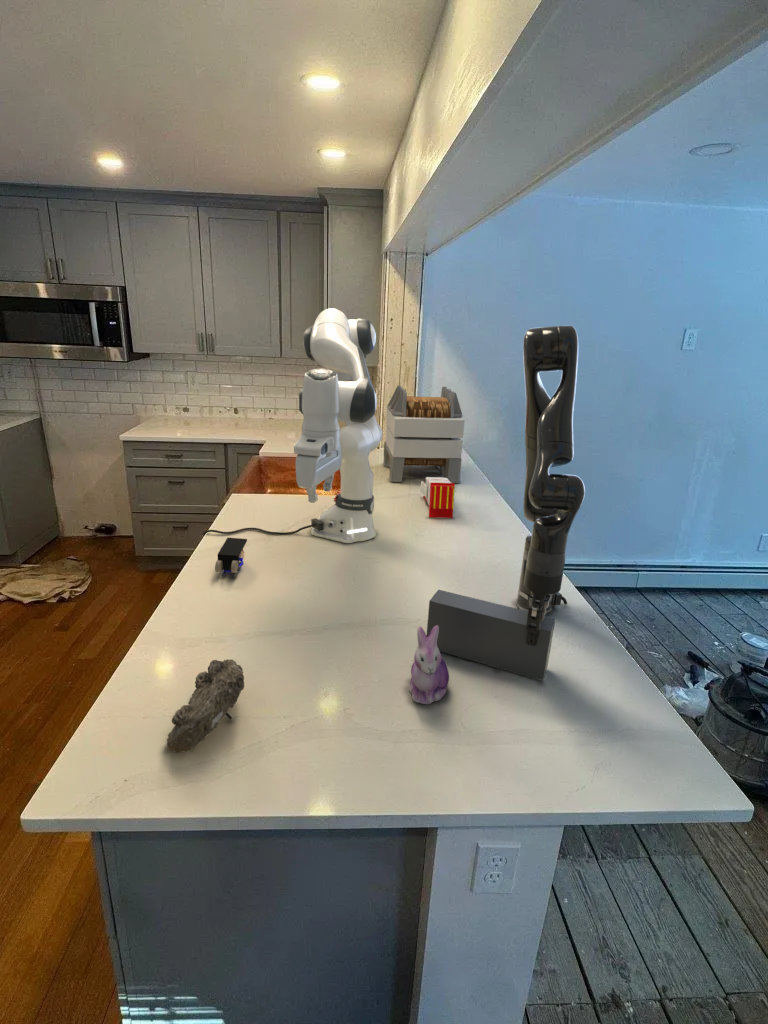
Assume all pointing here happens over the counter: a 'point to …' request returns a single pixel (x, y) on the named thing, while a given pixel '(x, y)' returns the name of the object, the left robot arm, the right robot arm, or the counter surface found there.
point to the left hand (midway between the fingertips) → (320, 496)
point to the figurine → (428, 669)
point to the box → (489, 633)
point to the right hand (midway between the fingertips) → (534, 636)
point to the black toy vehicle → (230, 556)
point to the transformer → (424, 433)
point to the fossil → (206, 705)
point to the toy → (439, 496)
